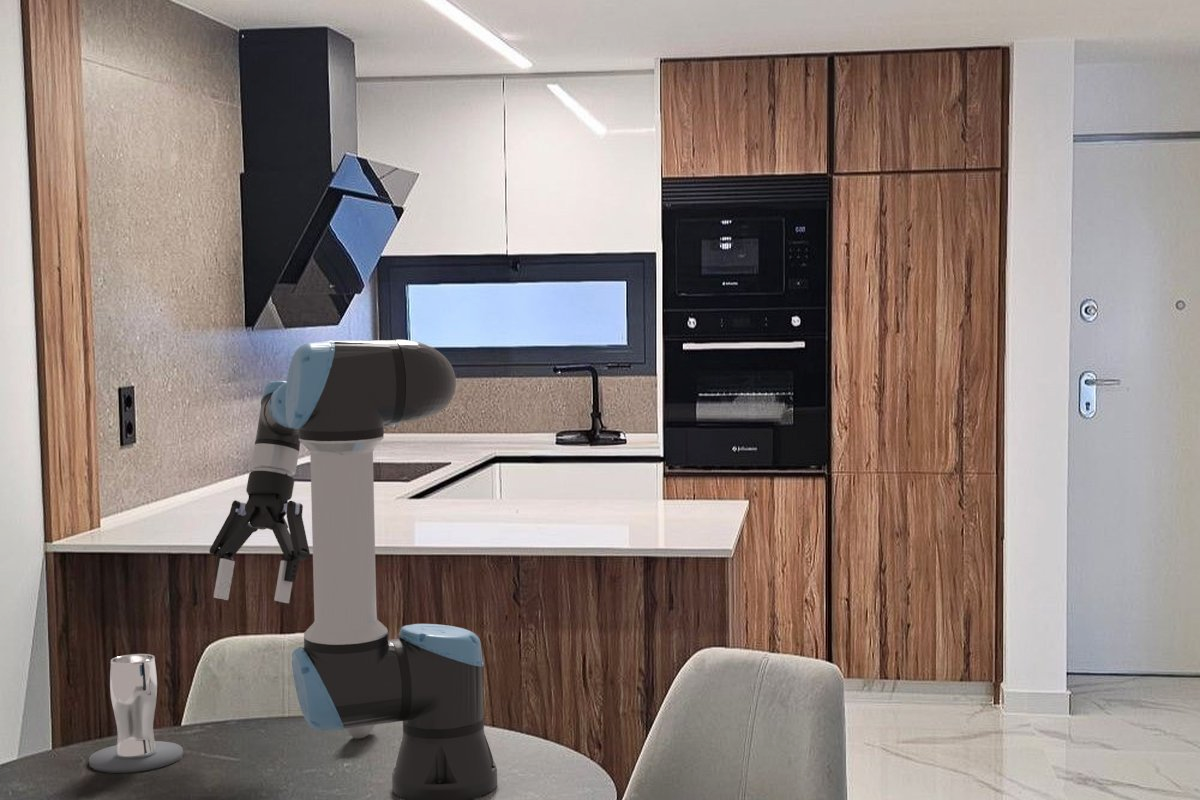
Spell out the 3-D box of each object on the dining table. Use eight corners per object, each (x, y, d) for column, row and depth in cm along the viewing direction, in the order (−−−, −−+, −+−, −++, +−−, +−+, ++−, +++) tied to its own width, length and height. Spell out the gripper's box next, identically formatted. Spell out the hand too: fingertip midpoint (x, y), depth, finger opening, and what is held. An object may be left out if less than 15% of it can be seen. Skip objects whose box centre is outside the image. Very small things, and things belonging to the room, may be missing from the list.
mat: (200, 757, 228) (200, 752, 228) (117, 778, 218) (117, 773, 218) (154, 740, 238) (153, 736, 238) (72, 760, 228) (72, 755, 228)
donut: (360, 746, 232) (359, 684, 232) (340, 745, 233) (338, 683, 232) (382, 729, 242) (380, 669, 242) (362, 728, 243) (361, 669, 242)
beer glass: (146, 760, 224) (142, 663, 224) (104, 759, 225) (100, 663, 225) (167, 747, 231) (163, 653, 230) (126, 746, 232) (122, 653, 232)
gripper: (344, 478, 241) (323, 606, 236) (234, 479, 254) (212, 600, 249) (313, 468, 235) (292, 599, 230) (202, 469, 248) (179, 593, 243)
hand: (250, 600), depth 239 cm, fingers open, 13 cm apart
